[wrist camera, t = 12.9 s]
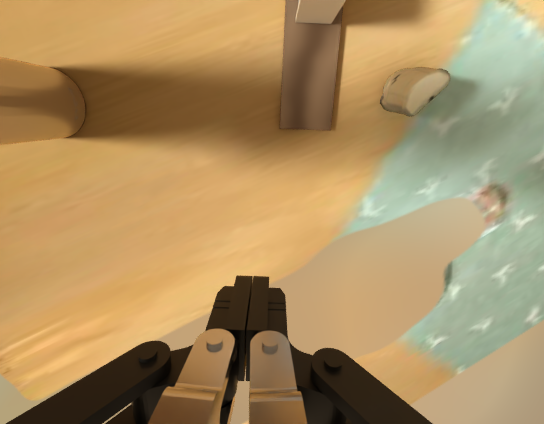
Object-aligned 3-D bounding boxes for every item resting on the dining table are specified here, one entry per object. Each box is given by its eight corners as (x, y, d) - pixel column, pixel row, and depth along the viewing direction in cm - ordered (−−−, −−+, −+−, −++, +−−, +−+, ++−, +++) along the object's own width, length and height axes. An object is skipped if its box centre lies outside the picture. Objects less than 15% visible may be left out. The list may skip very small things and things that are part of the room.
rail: (279, 128, 41) (280, 129, 38) (290, -109, 33) (292, -130, 30) (329, 130, 41) (333, 131, 38) (352, -106, 33) (360, -127, 30)
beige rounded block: (407, 119, 40) (438, 121, 33) (371, 112, 40) (393, 112, 33) (421, 75, 39) (457, 66, 31) (383, 67, 38) (410, 56, 31)
